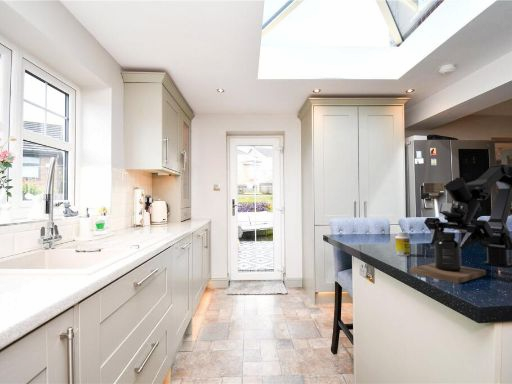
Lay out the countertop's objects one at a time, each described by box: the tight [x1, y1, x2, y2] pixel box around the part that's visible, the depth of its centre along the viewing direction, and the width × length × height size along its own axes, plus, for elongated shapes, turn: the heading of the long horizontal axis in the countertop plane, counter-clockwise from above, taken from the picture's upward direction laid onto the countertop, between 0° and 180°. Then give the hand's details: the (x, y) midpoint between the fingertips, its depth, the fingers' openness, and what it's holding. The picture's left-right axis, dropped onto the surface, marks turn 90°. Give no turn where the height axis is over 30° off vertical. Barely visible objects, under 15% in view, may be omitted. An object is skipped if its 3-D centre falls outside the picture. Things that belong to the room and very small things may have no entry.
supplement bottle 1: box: [394, 231, 411, 257], centre depth 120 cm, size 6×6×10 cm
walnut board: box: [409, 262, 487, 285], centre depth 88 cm, size 18×14×2 cm
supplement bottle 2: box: [433, 231, 462, 271], centre depth 88 cm, size 7×7×12 cm
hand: (445, 246), depth 88 cm, fingers open, 9 cm apart
